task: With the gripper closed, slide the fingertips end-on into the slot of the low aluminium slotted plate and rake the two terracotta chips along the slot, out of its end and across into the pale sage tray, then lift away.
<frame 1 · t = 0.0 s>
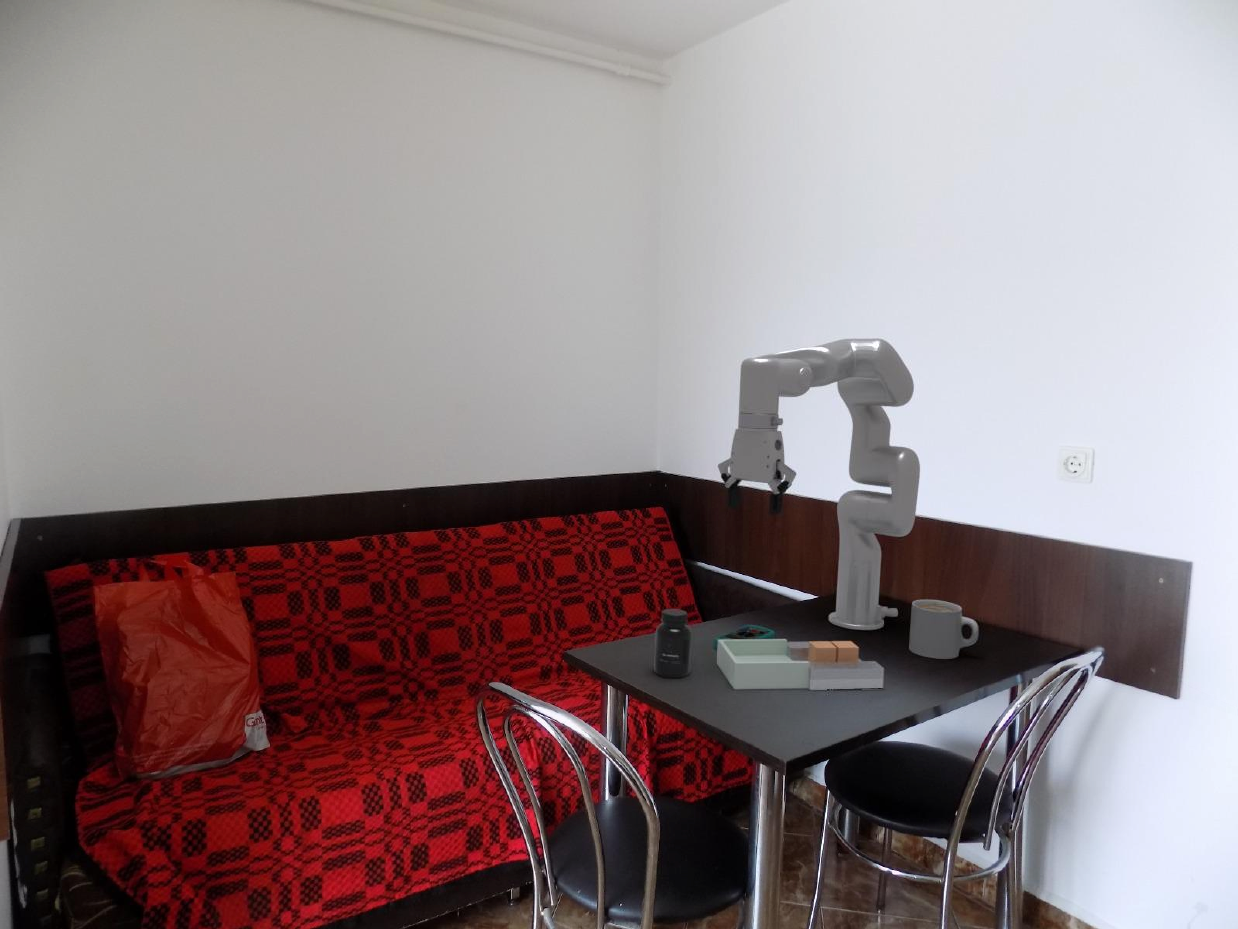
hand: (753, 510, 163), 31 cm above the table, tool pointing down, fingers open, 9 cm apart
front chip: (821, 664, 163), point 2 cm above the table, touching slotted block
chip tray: (760, 675, 162), on the table
slotted block: (830, 674, 163), on the table
digital multimeter: (744, 647, 181), on the table
coffee mug: (941, 654, 179), on the table
supplement bottle: (671, 674, 162), on the table
rear chip: (843, 664, 163), point 2 cm above the table, touching slotted block
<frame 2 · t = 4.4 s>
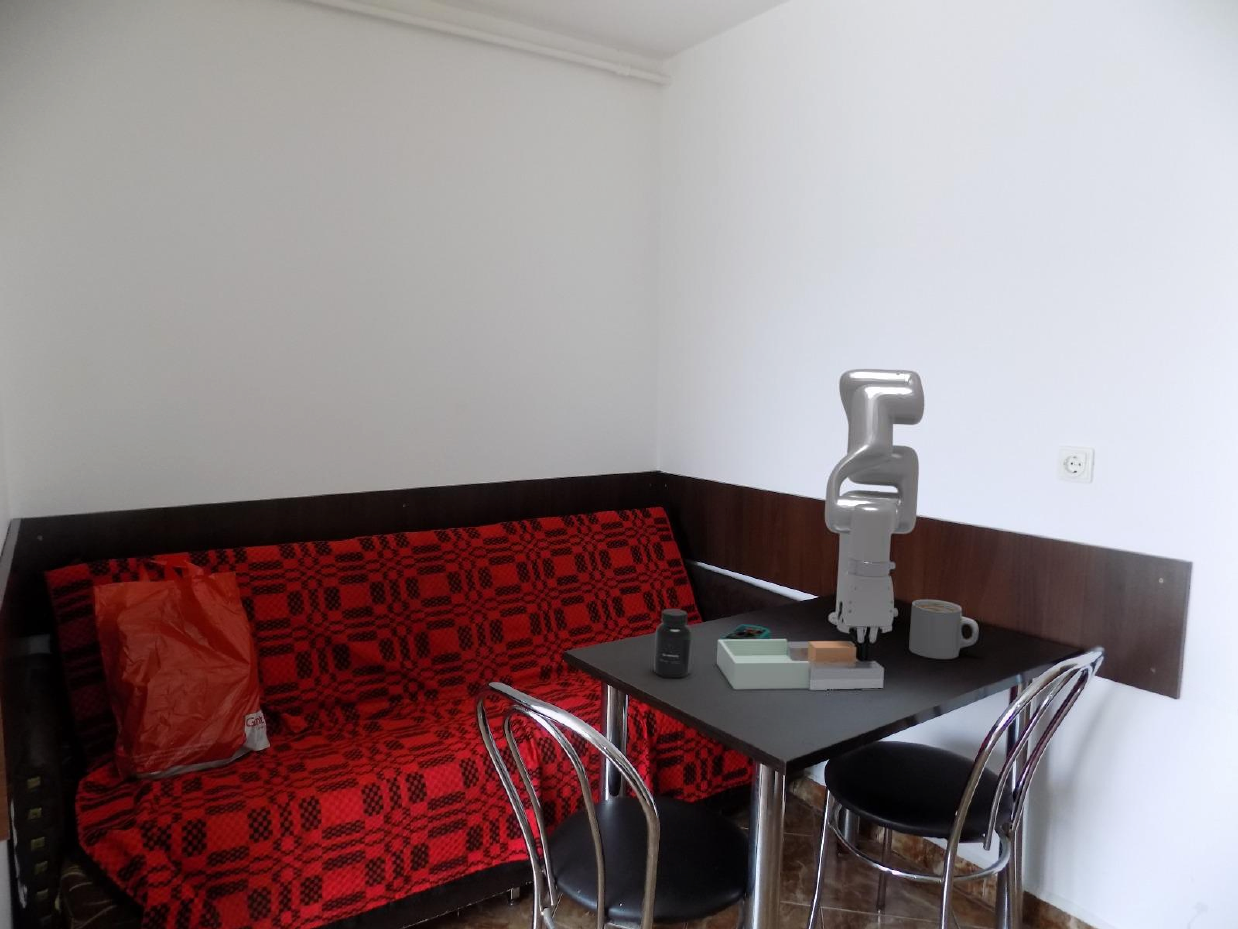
hand: (862, 660, 164), 3 cm above the table, tool pointing down, fingers closed
front chip: (821, 664, 163), point 2 cm above the table, touching rear chip
rear chip: (841, 664, 163), point 2 cm above the table, touching front chip, gripper
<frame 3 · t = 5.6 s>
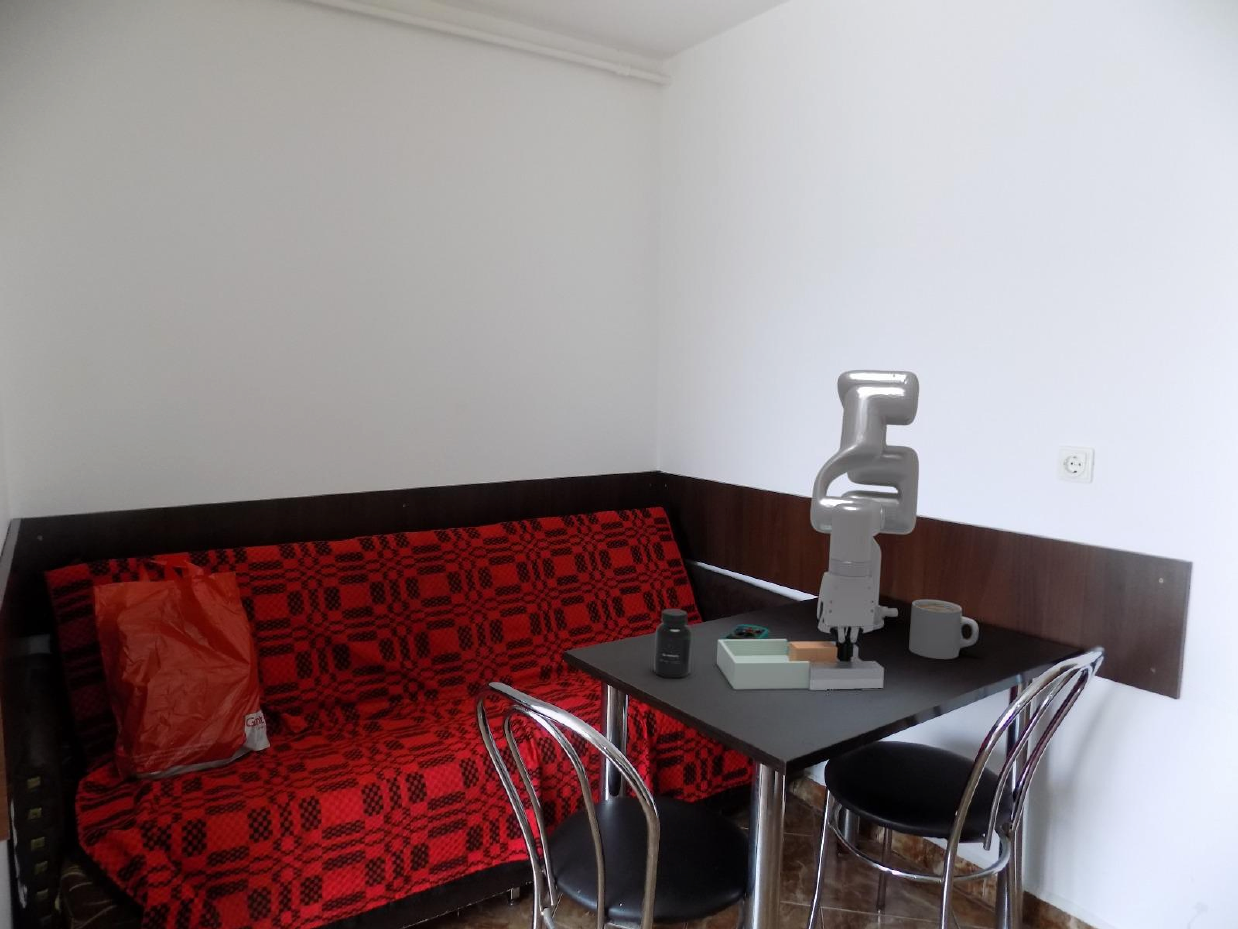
hand: (843, 660, 163), 3 cm above the table, tool pointing down, fingers closed
front chip: (802, 665, 162), point 2 cm above the table, touching rear chip, slotted block
rear chip: (822, 664, 163), point 2 cm above the table, touching front chip, gripper
everything else where it was.
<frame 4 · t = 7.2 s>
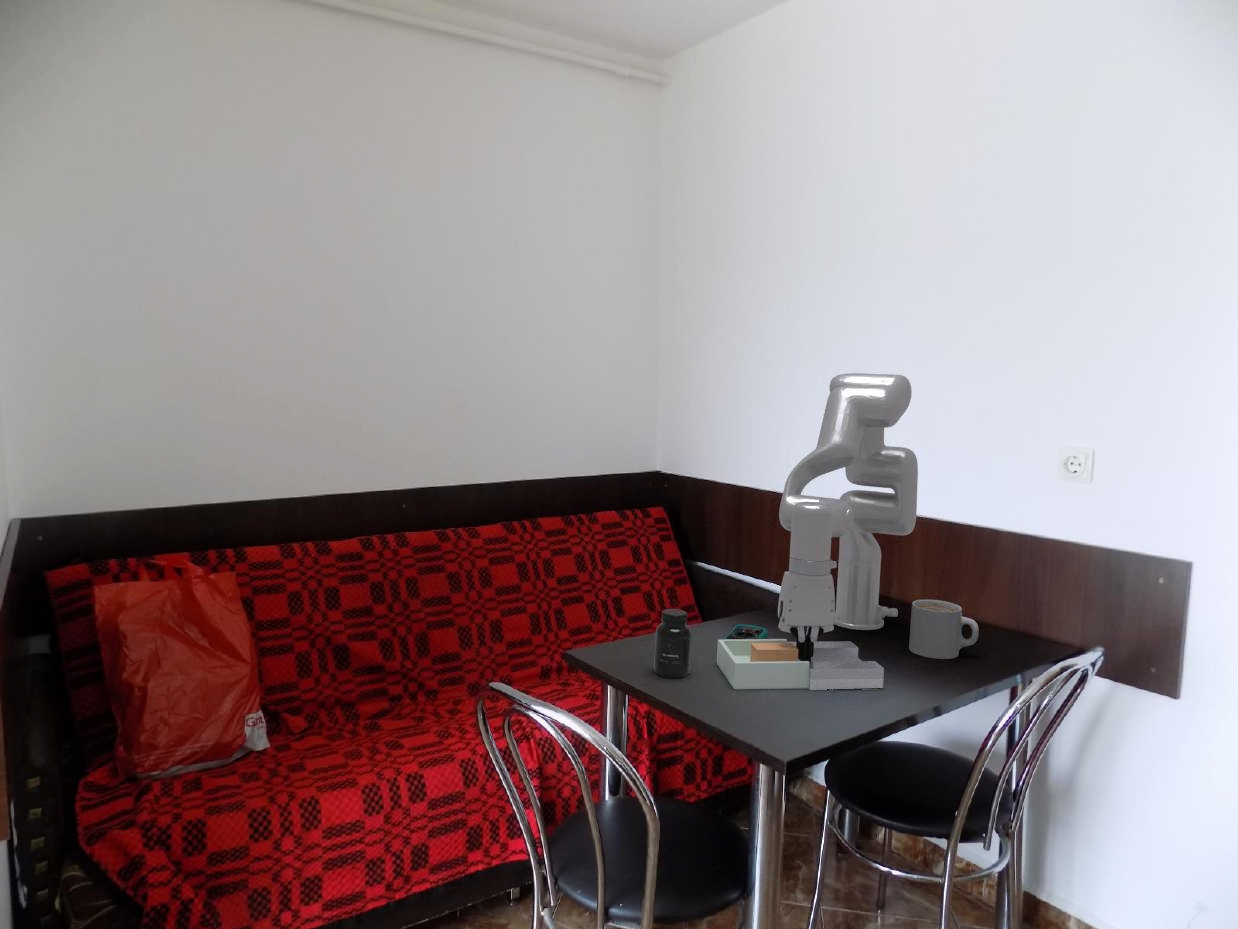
hand: (804, 660, 162), 3 cm above the table, tool pointing down, fingers closed
front chip: (763, 666, 161), point 2 cm above the table, touching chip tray
rear chip: (783, 666, 162), point 2 cm above the table, touching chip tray, gripper
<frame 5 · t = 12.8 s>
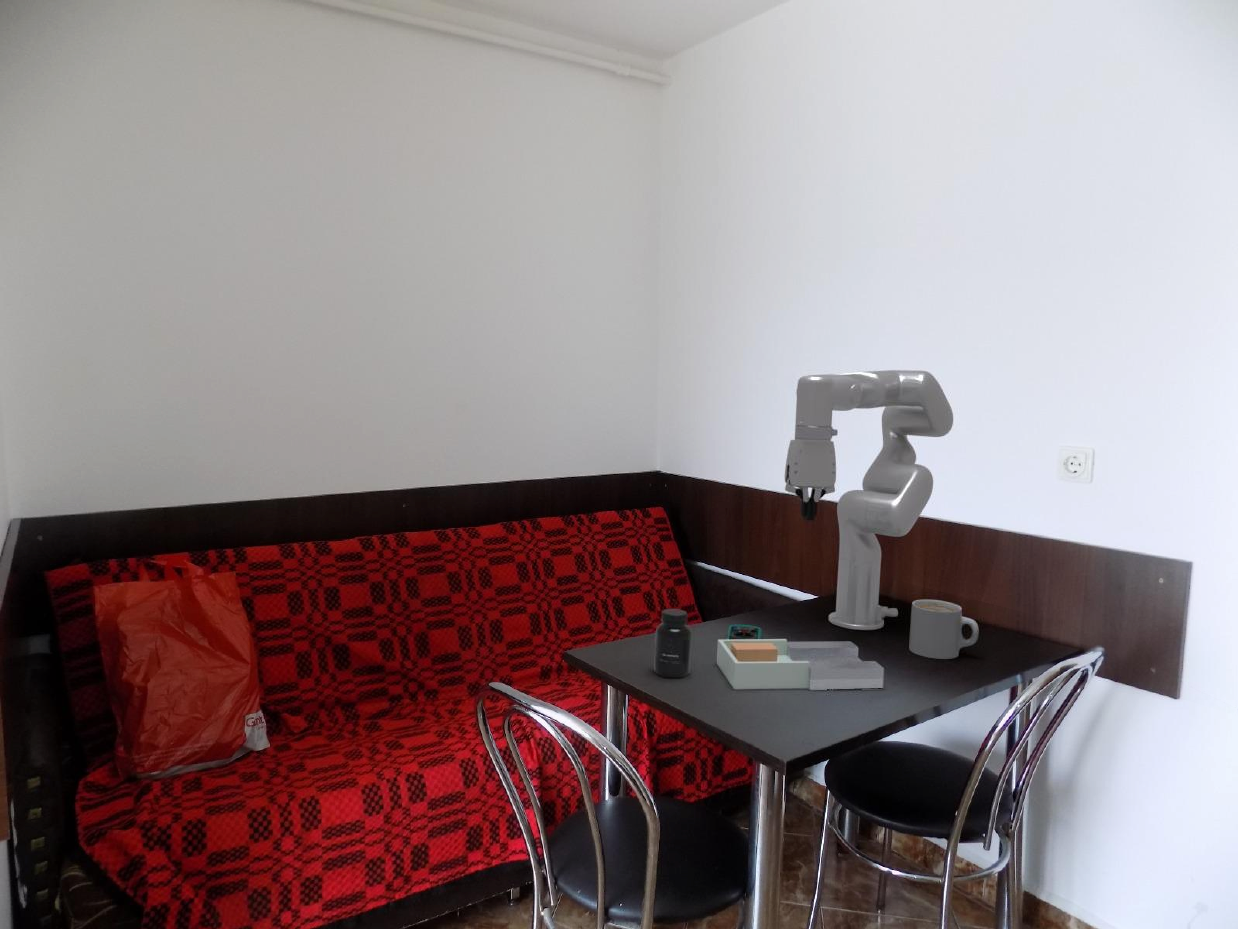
hand: (808, 519, 180), 27 cm above the table, tool pointing down, fingers closed
front chip: (743, 666, 161), point 2 cm above the table, touching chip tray
rear chip: (763, 666, 161), point 2 cm above the table, touching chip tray
at the end: front chip inside the target area on the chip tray (3.1 cm from its centre), point 1.9 cm above the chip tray's base; rear chip inside the target area on the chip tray (0.9 cm from its centre), point 1.9 cm above the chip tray's base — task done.
